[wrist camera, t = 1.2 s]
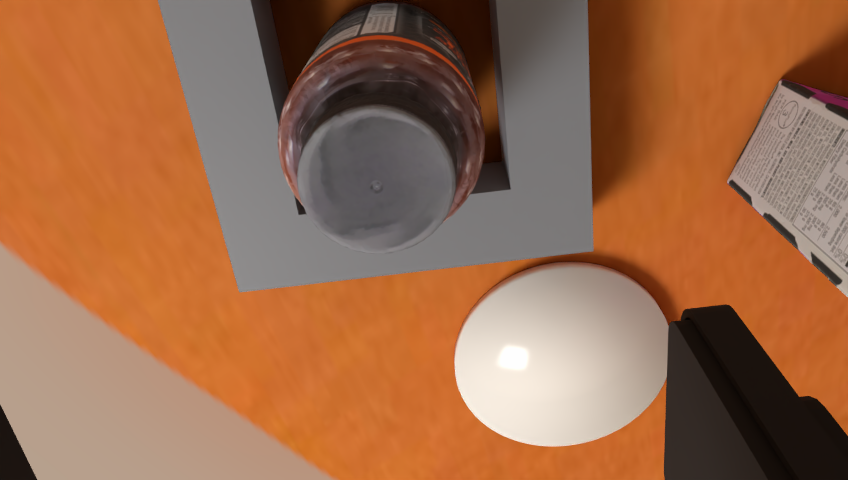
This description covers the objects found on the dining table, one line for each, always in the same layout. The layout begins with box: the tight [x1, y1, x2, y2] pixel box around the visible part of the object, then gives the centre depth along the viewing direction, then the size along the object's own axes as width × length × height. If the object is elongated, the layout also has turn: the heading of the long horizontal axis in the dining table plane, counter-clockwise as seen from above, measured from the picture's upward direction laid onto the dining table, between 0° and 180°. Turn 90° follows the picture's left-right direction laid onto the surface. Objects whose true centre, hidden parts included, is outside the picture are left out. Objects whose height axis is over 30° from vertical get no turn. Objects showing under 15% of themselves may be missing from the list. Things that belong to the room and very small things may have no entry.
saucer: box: [454, 262, 669, 446], centre depth 34 cm, size 10×10×1 cm
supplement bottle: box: [278, 1, 485, 254], centre depth 23 cm, size 6×6×11 cm
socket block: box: [158, 0, 593, 292], centre depth 27 cm, size 14×14×3 cm
